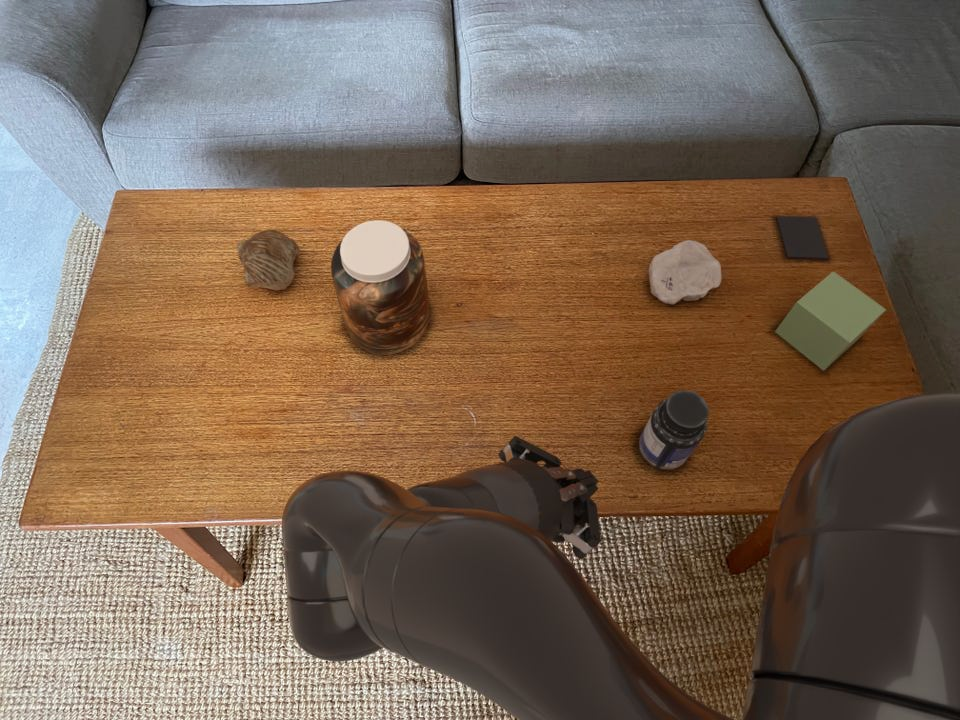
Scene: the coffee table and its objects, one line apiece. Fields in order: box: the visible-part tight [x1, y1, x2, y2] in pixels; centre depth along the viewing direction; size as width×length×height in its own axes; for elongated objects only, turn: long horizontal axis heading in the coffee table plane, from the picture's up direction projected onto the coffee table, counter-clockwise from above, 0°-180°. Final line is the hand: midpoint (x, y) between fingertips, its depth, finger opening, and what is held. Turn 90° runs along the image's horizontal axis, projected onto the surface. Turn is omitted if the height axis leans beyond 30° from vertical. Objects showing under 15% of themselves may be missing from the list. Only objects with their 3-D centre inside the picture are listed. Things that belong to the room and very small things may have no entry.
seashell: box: [236, 229, 301, 291], centre depth 90 cm, size 9×7×8 cm
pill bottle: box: [638, 389, 710, 471], centre depth 75 cm, size 6×6×11 cm
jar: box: [330, 219, 431, 356], centre depth 83 cm, size 12×12×15 cm
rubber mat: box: [775, 215, 830, 260], centre depth 98 cm, size 8×6×1 cm
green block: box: [774, 271, 887, 372], centre depth 86 cm, size 8×8×7 cm
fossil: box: [648, 239, 723, 305], centre depth 91 cm, size 9×6×10 cm
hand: (588, 481), depth 66 cm, fingers closed
